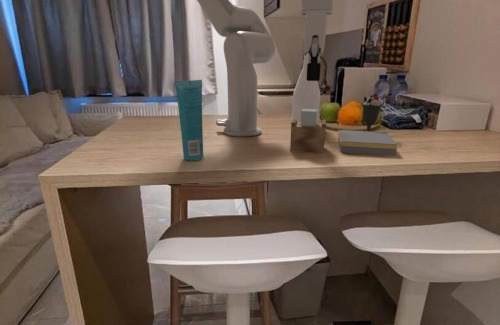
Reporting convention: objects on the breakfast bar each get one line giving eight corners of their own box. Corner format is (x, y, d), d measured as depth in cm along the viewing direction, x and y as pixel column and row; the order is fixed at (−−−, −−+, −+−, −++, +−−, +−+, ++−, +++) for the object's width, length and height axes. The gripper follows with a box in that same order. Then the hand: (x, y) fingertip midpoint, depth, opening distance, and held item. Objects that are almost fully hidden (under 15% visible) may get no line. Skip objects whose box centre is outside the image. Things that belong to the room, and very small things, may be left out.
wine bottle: (297, 129, 114) (302, 38, 104) (288, 124, 122) (291, 39, 113) (322, 128, 116) (329, 38, 106) (311, 123, 125) (317, 39, 115)
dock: (339, 152, 88) (340, 141, 87) (337, 139, 101) (338, 129, 100) (395, 155, 85) (397, 144, 84) (385, 142, 99) (386, 132, 98)
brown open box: (290, 151, 89) (291, 122, 86) (292, 145, 95) (293, 118, 92) (323, 153, 87) (326, 124, 84) (323, 147, 93) (325, 119, 90)
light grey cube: (300, 125, 87) (301, 110, 86) (301, 122, 91) (302, 108, 90) (315, 126, 87) (316, 111, 85) (316, 123, 90) (317, 109, 89)
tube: (198, 153, 86) (194, 78, 80) (210, 156, 83) (208, 79, 77) (175, 159, 81) (169, 80, 75) (187, 163, 78) (183, 81, 72)
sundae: (380, 138, 103) (387, 90, 98) (358, 137, 104) (364, 89, 100) (377, 133, 109) (383, 87, 104) (356, 132, 110) (361, 87, 106)
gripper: (302, 12, 88) (300, 77, 94) (299, 2, 72) (296, 81, 78) (331, 11, 87) (326, 77, 92) (334, 1, 71) (329, 82, 76)
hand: (313, 79), depth 85 cm, fingers open, 9 cm apart
